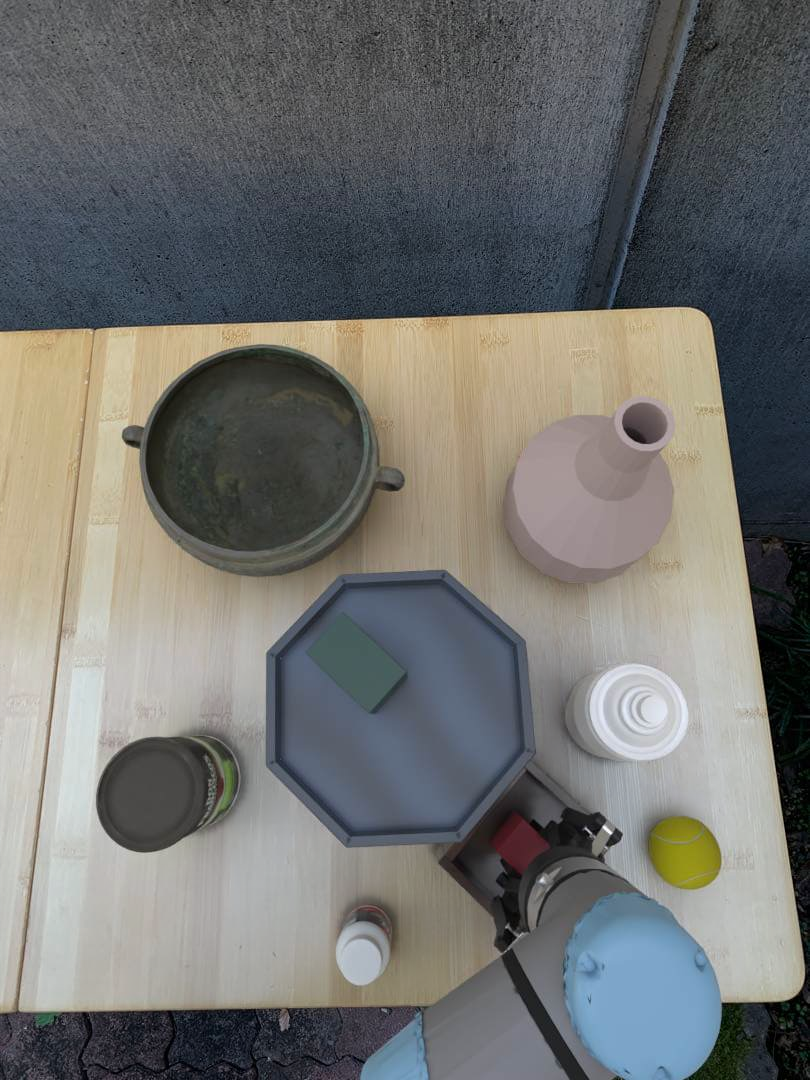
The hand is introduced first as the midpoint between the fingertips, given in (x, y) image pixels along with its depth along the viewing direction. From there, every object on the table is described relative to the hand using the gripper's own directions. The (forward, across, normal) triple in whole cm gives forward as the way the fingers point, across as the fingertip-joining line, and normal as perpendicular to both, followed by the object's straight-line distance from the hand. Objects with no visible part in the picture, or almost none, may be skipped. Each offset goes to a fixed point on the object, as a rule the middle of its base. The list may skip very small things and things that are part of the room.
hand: (526, 849), depth 70 cm
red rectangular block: (+2, 0, 0) cm, 2 cm away
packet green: (-19, -2, -23) cm, 30 cm away
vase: (+6, -32, -19) cm, 38 cm away
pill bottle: (+6, +18, -6) cm, 20 cm away
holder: (+6, 0, 0) cm, 6 cm away
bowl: (+6, -11, -48) cm, 50 cm away
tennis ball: (+6, -11, +13) cm, 18 cm away
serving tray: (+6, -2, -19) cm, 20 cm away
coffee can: (+6, +20, -31) cm, 37 cm away
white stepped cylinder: (+6, -16, -2) cm, 17 cm away
